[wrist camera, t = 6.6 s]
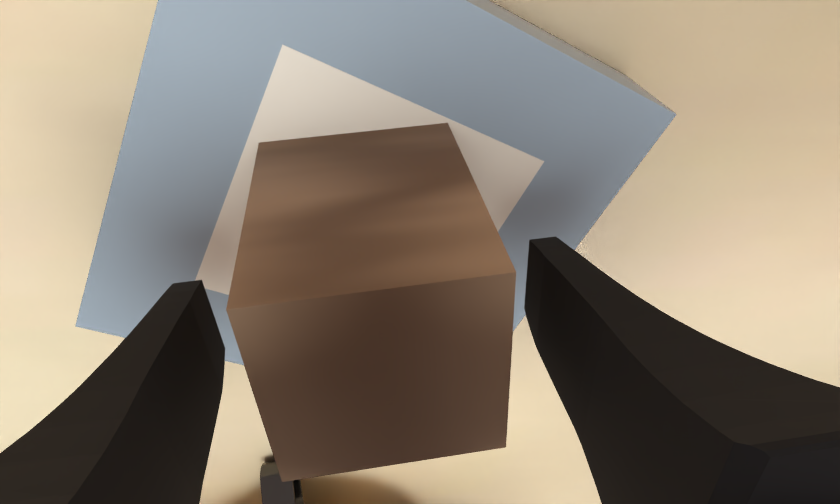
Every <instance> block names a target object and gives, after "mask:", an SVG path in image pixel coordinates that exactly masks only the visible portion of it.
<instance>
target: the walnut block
mask: <svg viewBox="0 0 840 504" xmlns="http://www.w3.org/2000/svg"><path fill="white" fill-rule="evenodd" d="M515 286H516V270H515V268H514V266H513V264H512V262H511V259H510V257H509V255H508V253H507V251H506V249H505V246H504V244H503V242H502V240H501V238H500V236H499V233H498V231H497V229H496V227H495V225H494V222H493V220H492V218H491V216H490V214H489V212H488V209H487V207H486V205H485V203H484V201H483V199H482V196H481V194H480V192H479V190H478V188H477V185H476V183H475V181H474V179H473V177H472V175H471V172H470V170H469V168H468V166H467V164H466V162H465V159H464V157H463V155H462V153H461V151H460V148H459V146H458V144H457V142H456V140H455V138H454V135H453V133H452V131H451V129H450V127H449V124H448V123H440V124H431V125H421V126H412V127H402V128H393V129H383V130H374V131H364V132H355V133H345V134H336V135H326V136H317V137H307V138H298V139H288V140H279V141H269V142H260V143H259V144H258V149H257V154H256V159H255V165H254V170H253V175H252V180H251V185H250V190H249V195H248V200H247V205H246V210H245V216H244V221H243V226H242V231H241V236H240V241H239V246H238V251H237V256H236V262H235V267H234V272H233V277H232V282H231V287H230V292H229V297H228V302H227V307H226V311H227V314H228V317H229V320H230V323H231V326H232V329H233V332H234V336H235V339H236V342H237V345H238V348H239V351H240V354H241V357H242V360H243V363H244V366H245V369H246V372H247V375H248V379H249V382H250V385H251V388H252V391H253V394H254V397H255V400H256V403H257V406H258V409H259V412H260V415H261V418H262V422H263V425H264V428H265V431H266V434H267V437H268V440H269V443H270V446H271V449H272V452H273V455H274V458H275V462H276V465H277V468H278V471H279V474H280V477H281V480H282V482H286V481H292V480H299V479H305V478H311V477H318V476H324V475H331V474H337V473H344V472H350V471H356V470H363V469H369V468H376V467H382V466H388V465H395V464H401V463H408V462H414V461H421V460H427V459H433V458H440V457H446V456H453V455H459V454H465V453H472V452H478V451H485V450H491V449H498V448H504V447H506V436H507V419H508V402H509V386H510V369H511V352H512V336H513V319H514V302H515Z"/></svg>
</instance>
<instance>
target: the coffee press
mask: <svg viewBox="0 0 840 504" xmlns="http://www.w3.org/2000/svg"><path fill="white" fill-rule="evenodd" d="M260 481H261V493H262V503H263V504H304V500H303V495H302V488H301V481H300V479H299V480H292V481H286V482H282V480H281V477H280V474H279V471H278V468H277V465H276V462H275V461H274V462H269V463H263V464H262V467H261V473H260Z"/></svg>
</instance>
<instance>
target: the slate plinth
mask: <svg viewBox="0 0 840 504" xmlns="http://www.w3.org/2000/svg"><path fill="white" fill-rule="evenodd" d="M675 116H676V113H674V112H673V111H672V110H670V109H669V108H668V107H666V106H665V105H664V104H663V103H661V102H660V101H659V100H657V99H656V98H655V97H653V96H652V95H651V94H649V93H648V92H647V91H645V90H644V89H643V88H642V87H640V86H639V85H638V84H636V83H635V82H634V81H632V80H631V79H630V78H628V77H627V76H626V75H624V74H622V73H620V72H618V71H617V70H615V69H613V68H611V67H609V66H608V65H606V64H604V63H602V62H600V61H598V60H597V59H595V58H593V57H591V56H589V55H588V54H586V53H584V52H582V51H580V50H578V49H577V48H575V47H573V46H571V45H569V44H568V43H566V42H564V41H562V40H560V39H558V38H557V37H555V36H553V35H551V34H549V33H548V32H546V31H544V30H542V29H540V28H538V27H537V26H535V25H533V24H531V23H529V22H528V21H526V20H524V19H522V18H520V17H518V16H517V15H515V14H513V13H511V12H509V11H508V10H506V9H504V8H502V7H500V6H498V5H497V4H495V3H493V2H491V1H489V0H158V3H157V7H156V11H155V15H154V19H153V23H152V27H151V31H150V34H149V38H148V42H147V46H146V50H145V54H144V58H143V62H142V66H141V70H140V74H139V78H138V82H137V86H136V90H135V93H134V97H133V101H132V105H131V109H130V113H129V117H128V121H127V125H126V129H125V133H124V137H123V141H122V145H121V149H120V152H119V156H118V160H117V164H116V168H115V172H114V176H113V180H112V184H111V188H110V192H109V196H108V200H107V204H106V208H105V211H104V215H103V219H102V223H101V227H100V231H99V235H98V239H97V243H96V247H95V251H94V255H93V259H92V263H91V267H90V271H89V274H88V278H87V282H86V286H85V290H84V294H83V298H82V302H81V306H80V310H79V314H78V318H77V322H76V327H81V328H85V329H89V330H94V331H98V332H102V333H107V334H111V335H115V336H120V337H124V338H126V337H127V336H128V335H129V333H130V332H131V331H132V330H133V329H134V328H135V327H136V326H137V324H138V323H139V322H140V321H141V320H142V319H143V317H144V316H145V315H146V314H147V313H148V311H149V310H150V309H151V308H152V307H153V306H154V304H155V303H156V302H157V301H158V300H159V298H160V297H161V296H162V295H163V294H164V293H165V291H166V290H167V289H168V288H169V287H170V286H171V285H172V284H173V283H179V282H188V281H196V280H202V282H203V285H204V287H205V290H206V293H207V296H208V299H209V302H210V305H211V308H212V311H213V314H214V317H215V320H216V323H217V326H218V328H219V331H220V334H221V337H222V340H223V343H224V346H225V361H228V362H233V363H237V364H241V365H244V363H243V360H242V357H241V354H240V351H239V348H238V345H237V342H236V339H235V336H234V332H233V329H232V326H231V323H230V320H229V317H228V314H227V311H226V307H227V302H228V297H229V292H230V287H231V282H232V277H233V272H234V267H235V262H236V256H237V251H238V246H239V241H240V236H241V231H242V226H243V221H244V216H245V210H246V205H247V200H248V195H249V190H250V185H251V180H252V175H253V170H254V165H255V159H256V154H257V149H258V144H259V143H260V142H269V141H279V140H288V139H298V138H307V137H317V136H326V135H336V134H345V133H355V132H364V131H374V130H383V129H393V128H402V127H412V126H421V125H431V124H440V123H448V124H449V127H450V129H451V131H452V133H453V135H454V138H455V140H456V142H457V144H458V146H459V148H460V151H461V153H462V155H463V157H464V159H465V162H466V164H467V166H468V168H469V170H470V172H471V175H472V177H473V179H474V181H475V183H476V185H477V188H478V190H479V192H480V194H481V196H482V199H483V201H484V203H485V205H486V207H487V209H488V212H489V214H490V216H491V218H492V220H493V222H494V225H495V227H496V229H497V231H498V233H499V236H500V238H501V240H502V242H503V244H504V246H505V249H506V251H507V253H508V255H509V257H510V259H511V262H512V264H513V266H514V268H515V270H516V286H515V302H514V319H513V331H514V329H515V328H516V327H517V325H518V324H519V323H520V321H521V320H522V319H523V317H524V316H525V315H526V313H525V310H524V303H525V290H526V277H527V264H528V251H529V240H530V239H539V238H547V237H555V236H556V237H557V238H559V239H560V240H561V241H563V242H564V243H565V244H567V245H568V246H569V247H571V248H572V249H573V250H575V248H576V247H577V246H578V244H579V243H580V242H581V241H582V239H583V238H584V237H585V235H586V234H587V233H588V231H589V230H590V229H591V227H592V226H593V225H594V223H595V222H596V221H597V219H598V218H599V217H600V215H601V214H602V213H603V211H604V210H605V209H606V207H607V206H608V205H609V203H610V202H611V201H612V199H613V198H614V197H615V195H616V194H617V193H618V191H619V190H620V189H621V187H622V186H623V185H624V183H625V182H626V181H627V179H628V178H629V177H630V175H631V174H632V173H633V172H634V170H635V169H636V168H637V166H638V165H639V164H640V162H641V161H642V160H643V158H644V157H645V156H646V154H647V153H648V152H649V150H650V149H651V148H652V146H653V145H654V144H655V142H656V141H657V140H658V138H659V137H660V136H661V134H662V133H663V132H664V130H665V129H666V128H667V126H668V125H669V124H670V122H671V121H672V120H673V118H674V117H675Z"/></svg>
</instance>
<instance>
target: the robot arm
mask: <svg viewBox="0 0 840 504" xmlns="http://www.w3.org/2000/svg"><path fill="white" fill-rule="evenodd" d="M524 310H525V313H526V317H527V320H528V323H529V326H530V330H531V333H532V336H533V339H534V342H535V345H536V347H537V350H538V352H539V354H540V356H541V358H542V360H543V363H544V365H545V367H546V369H547V371H548V373H549V375H550V378H551V380H552V382H553V384H554V386H555V388H556V390H557V392H558V394H559V396H560V398H561V401H562V403H563V405H564V407H565V409H566V411H567V413H568V415H569V417H570V419H571V422H572V424H573V426H574V428H575V430H576V433H577V435H578V437H579V440H580V442H581V445H582V447H583V450H584V453H585V456H586V459H587V461H588V464H589V467H590V470H591V473H592V476H593V478H594V481H595V484H596V487H597V490H598V493H599V496H600V499H601V502H602V504H840V387H836V386H833V385H830V384H826V383H823V382H820V381H816V380H814V379H811V378H808V377H805V376H802V375H799V374H797V373H794V372H791V371H788V370H785V369H783V368H780V367H777V366H774V365H772V364H769V363H767V362H764V361H762V360H759V359H757V358H754V357H752V356H750V355H747V354H745V353H743V352H741V351H738V350H736V349H734V348H732V347H729V346H727V345H725V344H723V343H720V342H718V341H716V340H714V339H712V338H710V337H708V336H706V335H704V334H702V333H700V332H698V331H696V330H694V329H692V328H691V327H689V326H687V325H685V324H683V323H681V322H679V321H677V320H676V319H674V318H672V317H670V316H669V315H667V314H665V313H663V312H662V311H660V310H659V309H657V308H655V307H654V306H652V305H651V304H649V303H648V302H646V301H644V300H643V299H641V298H640V297H638V296H636V295H635V294H634V293H632V292H631V291H629V290H628V289H626V288H625V287H623V286H622V285H620V284H619V283H618V282H616V281H615V280H613V279H612V278H611V277H609V276H608V275H606V274H605V273H604V272H602V271H601V270H600V269H598V268H597V267H596V266H594V265H593V264H592V263H590V262H589V261H588V260H586V259H585V258H584V257H582V256H581V255H580V254H579V253H577V252H576V251H575V250H573V249H572V248H571V247H569V246H568V245H567V244H565V243H564V242H563V241H561V240H560V239H559V238H557V237H556V236H555V237H547V238H539V239H530V240H529V251H528V264H527V277H526V290H525V303H524ZM224 362H225V346H224V343H223V340H222V337H221V334H220V331H219V328H218V326H217V323H216V320H215V317H214V314H213V311H212V308H211V305H210V302H209V299H208V296H207V293H206V290H205V287H204V285H203V282H202V280H196V281H188V282H179V283H173V284H172V285H171V286H170V287H169V288H168V289H167V290H166V291H165V293H164V294H163V295H162V296H161V297H160V298H159V300H158V301H157V302H156V303H155V304H154V306H153V307H152V308H151V309H150V310H149V311H148V313H147V314H146V315H145V316H144V317H143V319H142V320H141V321H140V322H139V323H138V324H137V326H136V327H135V328H134V329H133V330H132V331H131V332H130V333H129V335H128V336H127V337H126V338H125V339H124V340H123V341H122V343H121V344H120V345H119V346H118V347H117V348H116V349H115V350H114V351H113V352H112V353H111V355H110V356H109V357H108V358H107V359H106V360H105V361H104V362H103V363H102V364H101V365H100V366H99V367H98V368H97V369H96V370H95V371H94V372H93V373H92V374H91V375H90V376H89V377H88V378H87V379H86V380H85V381H84V382H83V383H82V384H81V385H80V386H79V387H78V388H77V389H76V390H75V391H74V392H73V393H72V394H71V395H70V396H69V397H68V398H67V399H66V400H64V401H63V402H62V403H61V404H60V405H59V406H58V407H57V408H55V409H54V410H53V411H52V412H51V413H50V414H49V415H47V416H46V417H45V418H44V419H43V420H42V421H41V422H39V423H38V424H37V425H36V426H35V427H33V428H32V429H31V430H30V431H29V432H27V433H26V434H25V435H23V436H22V437H21V438H19V439H18V440H17V441H16V442H14V443H13V444H12V445H10V446H9V447H8V448H6V449H5V450H4V451H3V452H1V453H0V504H199V502H200V496H201V490H202V484H203V479H204V475H205V470H206V465H207V461H208V456H209V451H210V447H211V442H212V438H213V433H214V428H215V424H216V419H217V414H218V409H219V404H220V400H221V394H222V388H223V377H224Z"/></svg>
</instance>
